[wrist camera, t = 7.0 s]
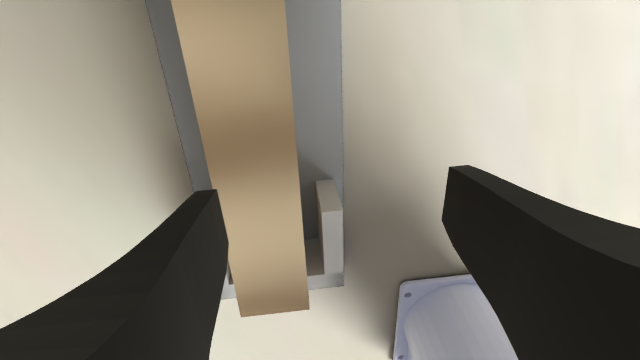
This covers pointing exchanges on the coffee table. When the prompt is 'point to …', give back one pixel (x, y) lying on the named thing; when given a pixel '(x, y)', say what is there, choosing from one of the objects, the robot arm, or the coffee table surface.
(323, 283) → the end cap cradle
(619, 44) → the coffee table surface
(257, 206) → the oak slat
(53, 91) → the coffee table surface
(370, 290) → the coffee table surface
